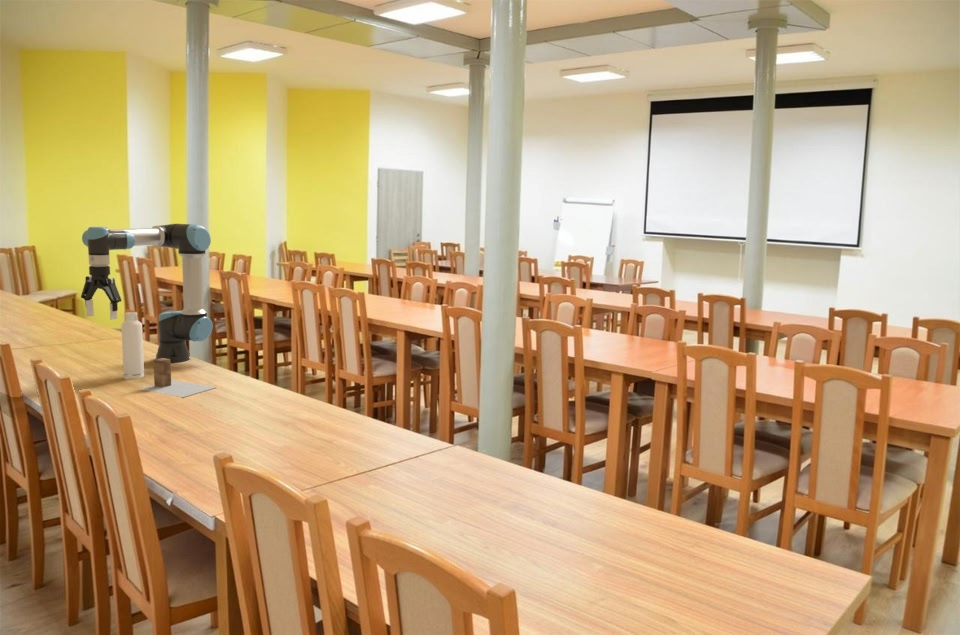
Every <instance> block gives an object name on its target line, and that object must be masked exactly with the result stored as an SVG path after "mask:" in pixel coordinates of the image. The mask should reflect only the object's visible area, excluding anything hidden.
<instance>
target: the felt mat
mask: <svg viewBox="0 0 960 635" xmlns="http://www.w3.org/2000/svg"><path fill="white" fill-rule="evenodd" d="M215 389H217V386H212V385H211V386H210V385H205V384H198V383H193V382H186V381H181V380H173V379H171V385H170V386H167V387H163V388H162V387H156V386H155V385H154V384H152V385H149V386H145V387H142V388H138V390H140V391H145V392H150V393H156V394H161V395H168V396H174V397H179V398H181V399H185V398H188V397H191V396H195V395H198V393H199V394H201V393H205V392H208V391H211V390H215Z"/></svg>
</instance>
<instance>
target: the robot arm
mask: <svg viewBox="0 0 960 635" xmlns="http://www.w3.org/2000/svg"><path fill="white" fill-rule="evenodd" d="M211 239H212V238H211V234H210V232H209V231H208V229H207V228H206V227H205V226H202V225H200V224H194V223H193V224H191V223H170V224H164V225H153V226H152V227H150V228H149V227H148V228H146V227H145V228H143V227H142V228H115V229H113V228H112V229H109V228H108V227H106V226H89V227H88V228H87V229H86V230H85V231H84V232H83V234H82V235H81V240H82V243H83V245H85V246H86V247H87V250H88V252H87V253H88V264H89V266H88V274H89V276H87V275H86V276H85V283H84V285H83V289H82V292H81V295H80V298H81V299H83V300H84V301H85V302H84V303H85V304H84V305H85V308H86V309H85V311H86V317H94V316H95V315H94V299H93V297H94V295H95V294H96V292H97V290H98V289H100V290H102V291H103V292H104V293H105V294H106V296H107V298H108V299H109V318H110V320H118V310H119V309H118V307H119V306H118V303H120V302H122V298H121V296H120V293H119V290H118V287H117V284H116V280H115V278H113V277H112V278H110V277H109V276H110V275H111V266H110V263H111V262H110V261H111V260H110V251H114V250H125V251H126V250H129V249H130V250H131V249H133V247H137V246H154V247H157V248H158V247H160V248H162V247H163V248H171V249H178V255H179V256H180V257H181V261H182V262H181V263H182V266H181V267H182V296H183V297H182V299H183V300H182V301H183V309H182V310H176V311H175V310H173V311H166V312H161V313H160V314H158V321H157V324H158V341H159V343H158V348H157V352H156V355H155V359H160V358H166V359H170V362H171V363H180V362H185V361H189V360H190V359H191V354H190V352H189V349H188V345H187V342H186V341H191V342H204V341H206V340H207V339H208V338H209V337H210V336H211V334H212V332H213V327H214V326H213V322H212V320H211V319H210V318H209V317H208V312H207V311H206V310H205V309H204V290H203V289H204V286H203V285H204V283H203V282H204V281H203V278H204V277H203V257H204V256H205V255H206V250H208V249H209V248H210V246H211V242H212V241H211ZM189 357H190V358H189Z"/></svg>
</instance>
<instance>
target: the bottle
mask: <svg viewBox="0 0 960 635" xmlns="http://www.w3.org/2000/svg"><path fill="white" fill-rule="evenodd" d="M124 316H125V321H123V322H122V323H121V339H122V340H121V342H122V343H121V346H122V368H123V379H125V380H132V379H134V380H135V379H140V378H143V377H145V365H144V364H145V363H144V340H143V339H144V337H143V324H142V322H141V321H139V319H138V312H137V311H128V312H125V314H124Z"/></svg>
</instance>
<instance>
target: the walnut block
mask: <svg viewBox="0 0 960 635" xmlns="http://www.w3.org/2000/svg"><path fill="white" fill-rule="evenodd" d="M171 363H172V362H170V359H166V358H160V359H156V358H155V359H153V378H154V380H153V381H154V384H153V385H155V386H156V387H162V388H163V387H167V386H170V385H171V380H172V369H171V367H172V366H171V365H172V364H171Z"/></svg>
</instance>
